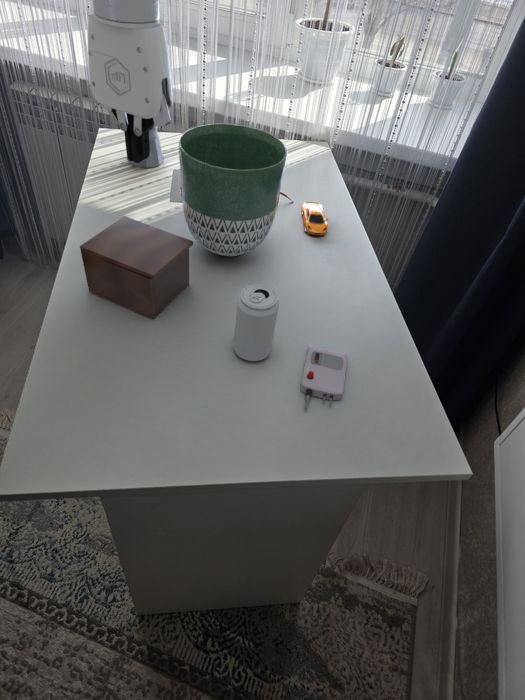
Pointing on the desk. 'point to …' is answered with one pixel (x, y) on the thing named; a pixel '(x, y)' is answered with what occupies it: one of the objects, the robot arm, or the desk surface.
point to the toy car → (314, 218)
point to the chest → (136, 284)
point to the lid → (137, 246)
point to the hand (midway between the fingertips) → (138, 158)
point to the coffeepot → (152, 151)
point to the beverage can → (255, 322)
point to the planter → (230, 185)
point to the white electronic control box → (324, 374)
